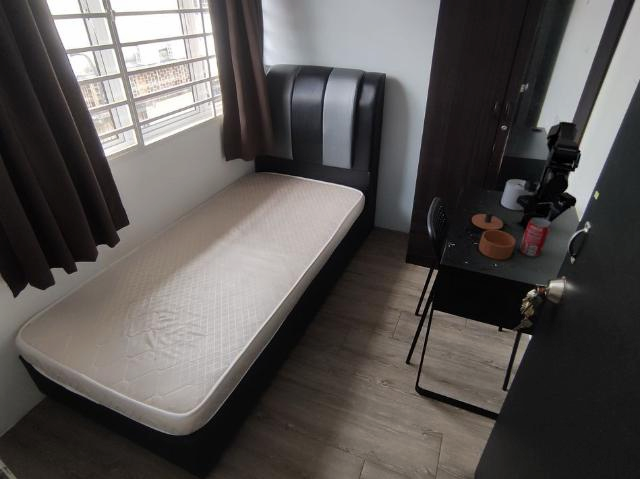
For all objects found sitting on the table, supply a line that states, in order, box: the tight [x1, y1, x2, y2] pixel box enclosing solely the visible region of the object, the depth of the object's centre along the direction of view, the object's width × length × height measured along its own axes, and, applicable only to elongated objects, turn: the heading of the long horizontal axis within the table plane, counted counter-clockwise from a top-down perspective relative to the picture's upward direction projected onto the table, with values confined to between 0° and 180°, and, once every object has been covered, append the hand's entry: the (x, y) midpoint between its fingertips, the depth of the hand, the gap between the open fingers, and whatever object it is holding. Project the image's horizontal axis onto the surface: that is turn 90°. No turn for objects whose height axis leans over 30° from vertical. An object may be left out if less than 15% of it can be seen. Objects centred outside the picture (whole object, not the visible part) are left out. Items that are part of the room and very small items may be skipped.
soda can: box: [519, 218, 551, 258], centre depth 138 cm, size 7×7×13 cm
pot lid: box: [471, 211, 504, 231], centre depth 156 cm, size 12×12×5 cm
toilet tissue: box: [500, 178, 533, 211], centre depth 169 cm, size 11×12×10 cm
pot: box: [478, 229, 517, 261], centre depth 140 cm, size 11×11×6 cm
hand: (538, 222), depth 135 cm, fingers open, 9 cm apart
